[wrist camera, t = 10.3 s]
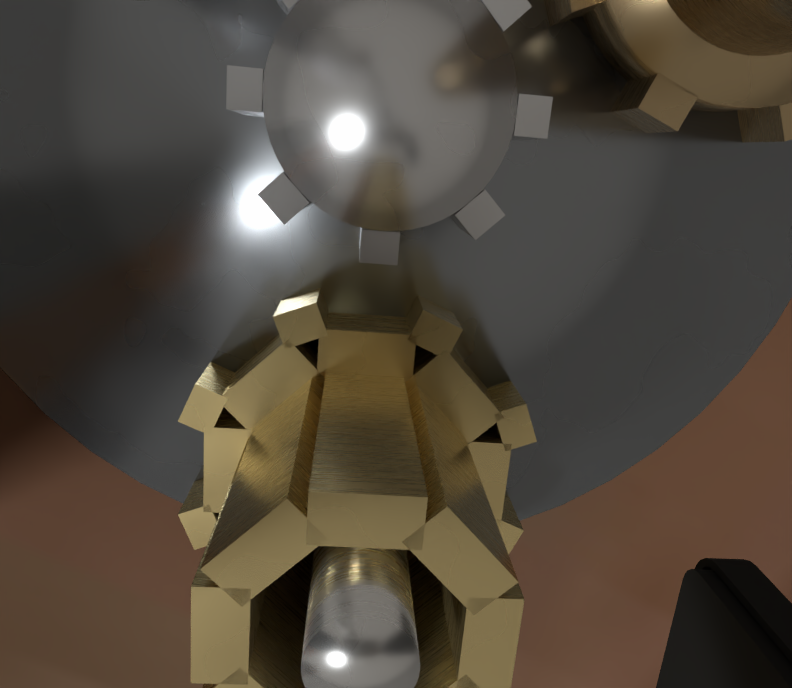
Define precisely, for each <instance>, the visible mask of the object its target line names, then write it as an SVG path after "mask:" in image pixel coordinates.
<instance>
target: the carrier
mask: <svg viewBox="0 0 792 688" xmlns="http://www.w3.org/2000/svg"><path fill="white" fill-rule="evenodd" d="M318 288H321V291H322V294H323V297H324V299H325V302H326V305H327V308H328V311H329V312H335V313H350V314H365V315H379V316H394V317H406V315H407V313H408V311H409V309H410V307H411V306H412V304H413V302H414V300H415V298H416V296H417V295H419V296H421V297H423V298H425V299H427V300H429V301H431V302H433V303H435V304H437V305H439V306H441V307H443V308H445V309H447V310H449V311H451V312H453V313H454V315H455V317H456V318H457V320H458V322H459V323H460V325H461V327H462V329H463V331H462V333H461V334H460V336H459V338H458V340H457V342H456V343H455V345H454V347H453V350H454V351H455V352H456V353H457V354H458V355H459V356H460V358H461V359H462V360H463V361H464V362H465V363H466V365H467V366H468V367H469V368H470V369H471V370H472V372H473V373H474V374H475V375H476V376H477V377H478V378H479V380H480V381H481V382H482V383H483V384H484V385H485V387H486V388H489V387H492V386H495V385H498V384H501V383H504V382H507V381H511V382H512V383H513V385H514V386H515V388H516V389H517V391H518V392H519V394H520V395H521V397H522V398H523V400H524V401H525V403H526V405H527V408H528V412H529V415H530V419H531V422H532V426H533V429H534V433H535V436H536V440H537V442H534V443H531V444H528V445H525V446H522V447H518V448H515V449H512V450H511V455H510V462H509V469H508V476H507V484H506V491H505V495H506V496H508V497H509V498H510V500H511V502H512V505H513V507H514V509H515V512H516V514H517V516H518V519H519V521H520V520H523V519H525V518H528V517H531V516H533V515H536V514H539V513H542V512H544V511H547V510H550V509H552V508H555V507H558V506H560V505H563V504H565V503H567V502H569V501H571V500H573V499H575V498H577V497H578V496H580V495H582V494H584V493H586V492H588V491H590V490H592V489H594V488H596V487H598V486H600V485H602V484H604V483H606V482H608V481H610V480H612V479H613V478H615V477H616V476H618V475H619V474H621V473H622V472H624V471H625V470H627V469H628V468H630V467H631V466H633V465H634V464H636V463H637V462H639V461H640V460H642V459H643V458H645V457H646V456H648V455H649V454H651V453H652V452H654V451H655V450H657V449H658V448H659V447H661V446H662V445H663V444H664V443H665V442H667V441H668V440H669V439H670V438H671V437H672V436H674V435H675V434H676V433H677V432H678V431H680V430H681V429H682V428H683V427H684V426H686V425H687V424H688V423H689V422H690V421H692V420H693V419H694V418H695V417H696V416H698V415H699V414H700V413H701V412H702V411H703V410H704V409H705V408H706V407H707V406H708V405H709V403H710V402H711V401H712V400H713V399H714V398H715V397H716V396H717V395H718V394H719V393H720V392H721V391H722V390H723V389H724V388H725V387H726V386H727V385H728V383H729V382H730V381H731V380H732V379H733V378H734V377H735V376H736V375H737V374H738V373H739V372H740V371H741V369H742V368H743V367H744V365H745V364H746V363H747V361H748V360H749V359H750V357H751V356H752V355H753V353H754V352H755V351H756V349H757V348H758V347H759V345H760V344H761V343H762V342H763V340H764V339H765V338H766V336H767V335H768V334H769V332H770V331H771V330H772V328H773V327H774V326H775V324H776V323H777V321H778V319H779V318H780V316H781V314H782V312H783V311H784V309H785V307H786V306H787V304H788V302H789V301H790V299H791V297H792V0H0V367H1V369H2V370H3V371H4V372H5V373H6V374H7V375H8V376H9V377H10V378H11V379H12V380H13V381H14V382H15V383H16V384H17V385H18V386H19V387H20V388H21V389H22V390H23V391H24V393H25V394H26V395H27V396H28V397H29V398H30V399H31V400H32V401H33V402H34V403H35V404H36V405H37V406H38V407H39V408H40V409H41V410H42V411H43V412H44V413H45V414H46V415H47V416H49V417H50V418H51V419H52V420H53V421H55V422H56V423H57V424H58V425H60V426H61V427H62V428H63V429H65V430H66V431H67V432H68V433H69V434H71V435H72V436H73V437H74V438H76V439H77V440H78V441H79V442H80V443H82V444H83V445H84V446H85V447H87V448H88V449H89V450H90V451H92V452H93V453H95V454H96V455H98V456H99V457H101V458H103V459H104V460H106V461H107V462H109V463H110V464H112V465H114V466H115V467H117V468H118V469H120V470H121V471H123V472H124V473H126V474H128V475H129V476H131V477H132V478H134V479H135V480H137V481H139V482H140V483H142V484H144V485H146V486H148V487H150V488H152V489H154V490H156V491H159V492H161V493H163V494H165V495H167V496H169V497H171V498H173V499H175V500H177V501H179V502H181V503H183V504H184V501H185V499H186V497H187V495H188V493H189V491H190V489H191V487H192V485H193V483H194V482H195V481H198V480H201V479H204V433H203V432H201V431H198V430H196V429H194V428H191V427H189V426H187V425H185V424H182V423H180V422H178V420H179V418H180V416H181V413H182V411H183V409H184V407H185V405H186V403H187V400H188V398H189V396H190V394H191V392H192V390H193V387H194V385H195V383H196V382H197V381H198V379H199V378H200V376H201V375H202V373H203V372H204V371H205V369H206V368H207V366H208V365H209V363H210V362H212V363H215V364H217V365H219V366H221V367H223V368H226V369H228V370H230V371H232V372H234V373H235V372H236V371H237V370H238V369H239V368H241V367H242V366H243V365H244V364H245V363H246V362H248V361H249V360H250V359H251V358H252V357H253V356H255V355H256V354H257V353H258V352H259V351H260V350H262V349H263V348H264V347H265V346H266V345H267V344H269V343H270V342H271V341H272V340H273V339H274V338H276V337H277V336H278V335H279V332H278V329H277V327H276V324H275V321H274V319H273V315H274V313H275V311H276V309H277V308H278V306H279V304H280V302H281V300H285V299H288V298H291V297H294V296H297V295H300V294H303V293H306V292H309V291H312V290H315V289H318ZM313 341H314V342H315V343H316V344H317V345H318V344H319V338H318V339H315V340H313ZM417 347H418V346H417V345H416V348H417ZM419 673H420V658H419V649H418V641H417V633H416V624H415V616H414V608H413V600H412V591H411V583H410V575H409V566H408V558H407V550H403V549H380V548H357V547H334V546H318V547H317V548H315V549H314V553H313V562H312V571H311V580H310V589H309V598H308V607H307V616H306V625H305V634H304V643H303V652H302V661H301V676H302V680H303V683H304V686H305V688H414V687H415V685H416V683H417V680H418V678H419Z"/></svg>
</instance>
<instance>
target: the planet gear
mask: <svg viewBox="0 0 792 688" xmlns="http://www.w3.org/2000/svg"><path fill="white" fill-rule="evenodd" d="M273 319H274V321H275V324H276V327H277V329H278V332H279V335H278V336H277V337H276V338H274V339H273V340H272V341H271V342H270V343H269V344H267V345H266V346H265V347H264V348H263V349H262V350H260V351H259V352H258V353H257V354H256V355H255V356H253V357H252V358H251V359H250V360H249V361H248V362H246V363H245V364H244V365H243V366H242V367H241V368H239V369H238V370H237V371H236V372H235V373H234V372H232V371H230V370H228V369H226V368H223V367H221V366H219V365H217V364H215V363H212V362H210V363H209V365H208V366H207V368H206V369H205V371H204V372H203V373H202V375H201V376H200V378H199V379H198V381H197V382H196V383H195V385H194V387H193V390H192V392H191V394H190V396H189V398H188V400H187V403H186V405H185V407H184V409H183V411H182V413H181V416H180V418H179V420H178V422H180V423H182V424H185V425H187V426H189V427H191V428H194V429H196V430H198V431H201V432H203V433H204V479H201V480H198V481H195V482H194V483H193V485H192V487H191V489H190V491H189V493H188V495H187V497H186V499H185V501H184V504H183V506H182V508H181V510H180V512H179V514H178V516H179V518H180V520H181V522H182V524H183V526H184V528H185V531H186V533H187V535H188V537H189V539H190V541H191V544H192V546H193V548H194V550H195V549H199V548H202V547H205V546H207V547H206V549H205V552H204V554H203V557H202V560H201V562H200V565H199V567H198V570H197V573H196V575H195V578H194V580H193V583H192V586H191V683H204V685H203V688H305V686H304V683H303V680H302V676H301V661H302V652H303V643H304V634H305V625H306V616H307V607H308V598H309V589H310V580H311V571H312V562H313V553H314V549H315V548H317V547H318V546H334V547H357V548H380V549H403V550H407V558H408V566H409V575H410V583H411V591H412V600H413V608H414V616H415V624H416V633H417V641H418V649H419V658H420V673H419V678H418V680H417V683H416V685H415V687H414V688H511V683H512V676H513V670H514V663H515V657H516V650H517V644H518V637H519V631H520V625H521V618H522V612H523V605H524V597H523V594H522V592H521V589H520V586H519V584H518V579H517V576H516V574H515V571H514V568H513V566H512V563H511V560H510V558H509V553H510V552H511V550H512V549H513V547H514V545H515V544H516V542H517V540H518V539H519V537H520V536H521V534H522V532H523V531H524V530H523V528H522V525H521V523H520V521H519V519H518V516H517V514H516V512H515V509H514V507H513V505H512V502H511V500H510V498H509V497H508V496H506V495H505V491H506V484H507V476H508V469H509V462H510V455H511V450H512V449H515V448H518V447H522V446H525V445H528V444H531V443H534V442H537V440H536V436H535V433H534V429H533V426H532V422H531V419H530V415H529V412H528V408H527V405H526V403H525V401H524V400H523V398H522V397H521V395H520V394H519V392H518V391H517V389H516V388H515V386H514V385H513V383H512V382H511V381H507V382H504V383H501V384H498V385H495V386H492V387H489V388H486V387H485V385H484V384H483V383H482V382H481V381H480V380H479V378H478V377H477V376H476V375H475V374H474V373H473V372H472V370H471V369H470V368H469V367H468V366H467V365H466V363H465V362H464V361H463V360H462V359H461V358H460V356H459V355H458V354H457V353H456V352H455V351H454V350H453V347H454V345H455V343H456V342H457V340H458V338H459V336H460V334H461V333H462V331H463V329H462V327H461V325H460V323H459V322H458V320H457V318H456V317H455V315H454V313H453V312H451V311H449V310H447V309H445V308H443V307H441V306H439V305H437V304H435V303H433V302H431V301H429V300H427V299H425V298H423V297H421V296H419V295H417V296H416V298H415V300H414V302H413V304H412V306H411V307H410V309H409V311H408V313H407V315H406V317H394V316H379V315H365V314H350V313H335V312H329V311H328V308H327V305H326V302H325V299H324V297H323V294H322V291H321V288H318V289H315V290H312V291H309V292H306V293H303V294H300V295H297V296H294V297H291V298H288V299H285V300H281V302H280V304H279V306H278V308H277V309H276V311H275V313H274V315H273ZM318 338H319V344H318V345H317V344H316V343H315V342H314V341H313V340H315V339H318ZM416 345H417V346H418V347H417V348H416Z"/></svg>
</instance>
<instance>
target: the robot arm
mask: <svg viewBox="0 0 792 688" xmlns="http://www.w3.org/2000/svg"><path fill="white" fill-rule="evenodd" d="M656 688H792V603H791V602H790V601H789V600H788V599H787V598H786V597H785V596H784V595H783V594H782V593H781V592H780V591H779V590H778V589H777V588H776V587H775V585H774V584H773V583H772V582H771V581H770V580H769V579H768V578H767V577H766V576H765V575H764V574H763V573H762V572H761V571H760V570H759V568H758V567H757V566H756V565H754V564H753V563H752V562H750V561H748V560H744V559H715V558H705V559H702V560H700V561H699V562H698V564H697V565H696V567H695V569H691V570H688V571H687V572H686V573H685V575H684V578H683V581H682V585H681V589H680V593H679V597H678V601H677V605H676V609H675V613H674V617H673V621H672V625H671V629H670V633H669V637H668V641H667V646H666V650H665V654H664V658H663V662H662V666H661V670H660V674H659V678H658V682H657V686H656Z"/></svg>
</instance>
